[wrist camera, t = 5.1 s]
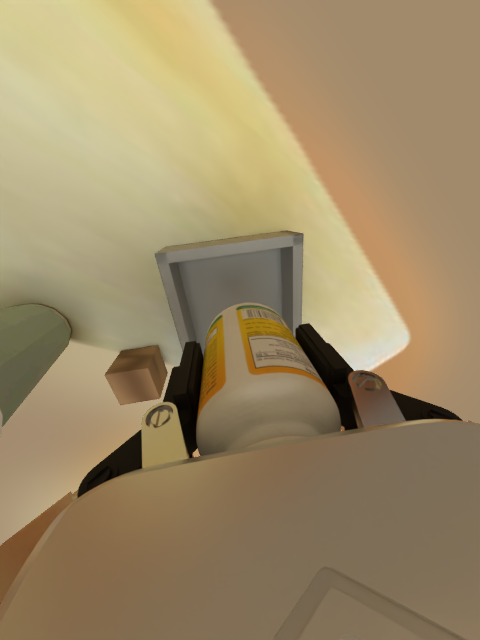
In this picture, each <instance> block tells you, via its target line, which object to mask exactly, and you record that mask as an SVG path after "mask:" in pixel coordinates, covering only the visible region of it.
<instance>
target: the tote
mask: <svg viewBox="0 0 480 640" xmlns="http://www.w3.org/2000/svg"><path fill="white" fill-rule="evenodd" d="M155 257H156V261H157V264H158V268H159V271H160V275H161V278H162V281H163V285H164V288H165V292H166V295H167V299H168V302H169V306H170V309H171V313H172V316H173V319H174V323H175V326H176V330H177V333H178V337H179V340H180V344H181V347H182V351H183V350H184V346H185V343H186V342H190V341H196V343H200V345H201V349H202V354H203V358H204V350H205V340H206V334H207V331H208V329H209V327H210V325H211V323H212V321H213V320H214V318H215V317H216V316H217V315H218V314H220V313H221V312H222V311H224V310H225V309H227V308H229V307H231V306H233V305H236V304H241V303H258V304H262V305H265V306H268V307H270V308H271V309H273V310H275V311H276V312H277V313H278V314H279V315H280V316H281V317H282V318H283V320H284V321H285V323H286V324H287V326H288V327H289V329H290V331H291V332H292V334H293V335H294V337H295V330H296V328H298V326H299V325H301V323H302V274H303V233H297V232H291V231H281V232H273V233H266V234H258V235H251V236H243V237H236V238H229V239H221V240H214V241H206V242H199V243H191V244H184V245H176V246H169V247H165V248H163V249H162V250H160V251H158V252H157V253H155Z"/></svg>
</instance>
